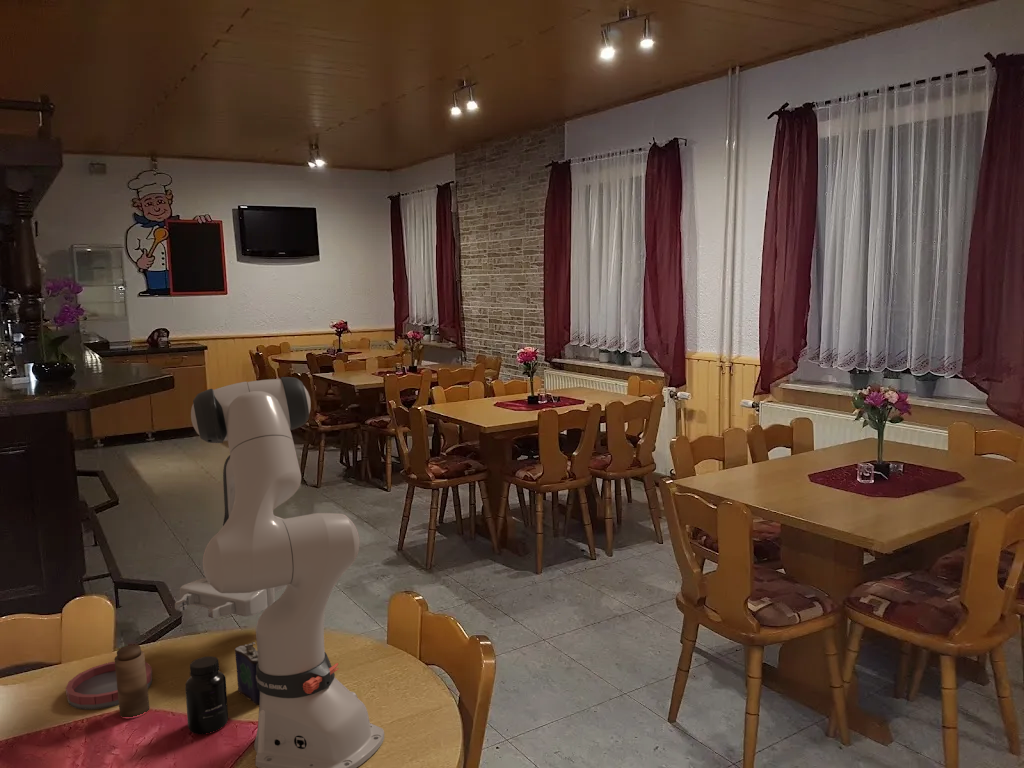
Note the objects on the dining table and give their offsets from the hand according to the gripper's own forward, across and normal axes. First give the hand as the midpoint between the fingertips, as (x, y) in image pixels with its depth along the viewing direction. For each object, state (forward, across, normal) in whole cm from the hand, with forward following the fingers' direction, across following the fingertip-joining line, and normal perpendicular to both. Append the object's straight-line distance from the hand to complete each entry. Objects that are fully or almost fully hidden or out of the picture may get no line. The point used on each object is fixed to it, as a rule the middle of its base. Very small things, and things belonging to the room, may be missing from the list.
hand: (193, 610), depth 158 cm
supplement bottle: (+14, +17, +14) cm, 26 cm away
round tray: (+12, -12, +14) cm, 21 cm away
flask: (+2, +17, +14) cm, 22 cm away
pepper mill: (+15, 0, +14) cm, 21 cm away
